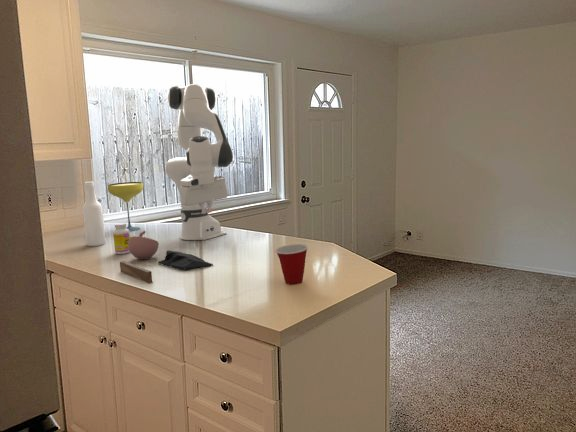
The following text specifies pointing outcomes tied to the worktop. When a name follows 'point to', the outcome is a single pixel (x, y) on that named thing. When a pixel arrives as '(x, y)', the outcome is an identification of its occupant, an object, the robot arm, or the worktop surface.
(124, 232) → the supplement bottle
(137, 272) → the brown wooden bar
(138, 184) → the cocktail glass
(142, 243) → the mortar and pestle
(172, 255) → the dark slate chunk
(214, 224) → the robot arm
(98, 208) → the alcohol
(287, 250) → the plastic cup
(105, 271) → the worktop surface
